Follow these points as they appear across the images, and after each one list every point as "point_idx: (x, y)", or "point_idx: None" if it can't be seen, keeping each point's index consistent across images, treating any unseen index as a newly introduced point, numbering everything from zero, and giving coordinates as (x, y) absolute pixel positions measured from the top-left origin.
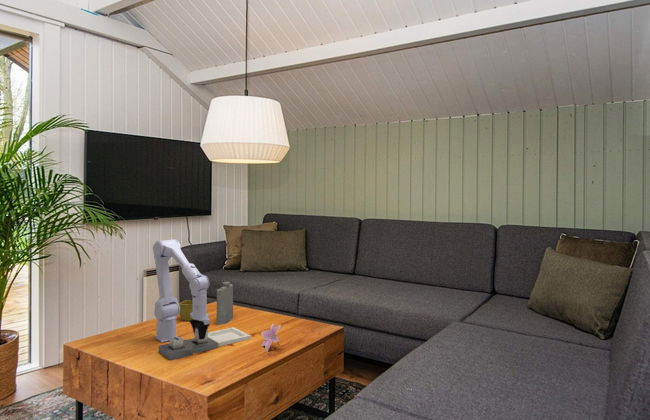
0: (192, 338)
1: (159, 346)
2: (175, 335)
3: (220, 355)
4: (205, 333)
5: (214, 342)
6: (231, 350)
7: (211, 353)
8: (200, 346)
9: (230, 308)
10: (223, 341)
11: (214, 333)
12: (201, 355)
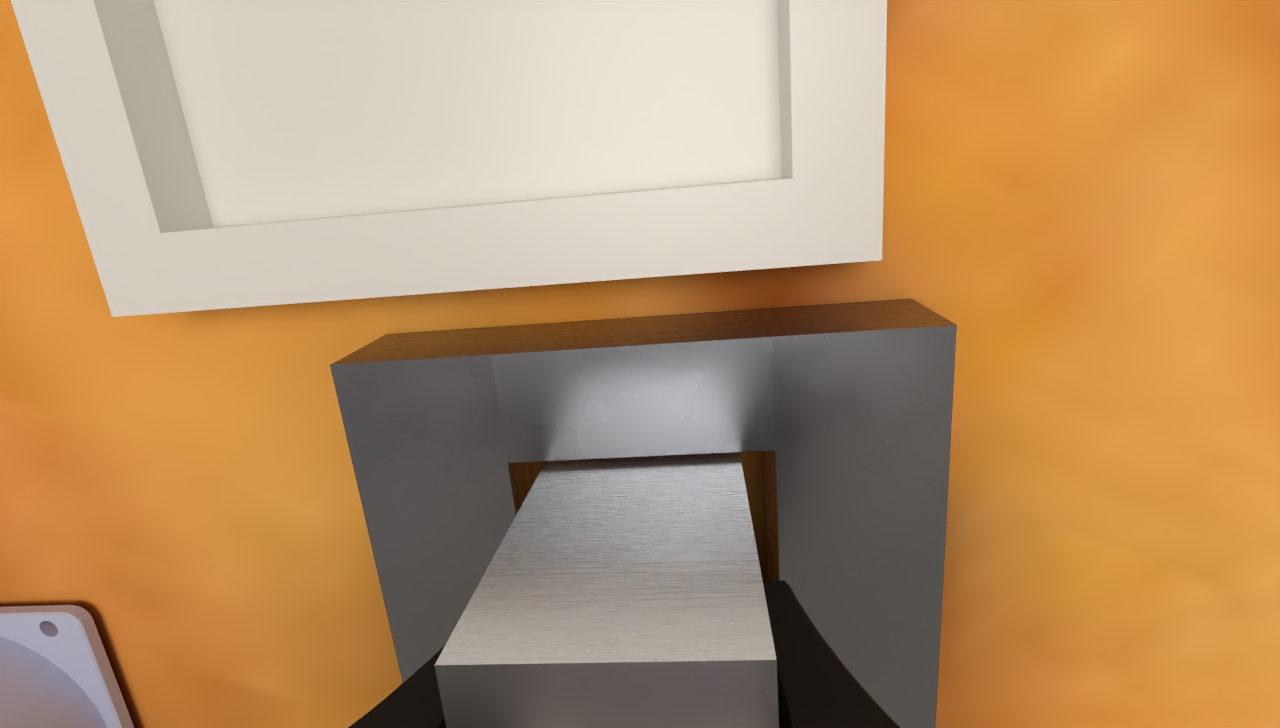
0: (384, 600)
1: None
2: (7, 675)
3: (1263, 381)
4: (834, 663)
5: (878, 359)
6: (1192, 87)
7: (1047, 464)
8: (917, 655)
9: None
10: (864, 120)
11: (127, 44)
12: (1013, 615)
